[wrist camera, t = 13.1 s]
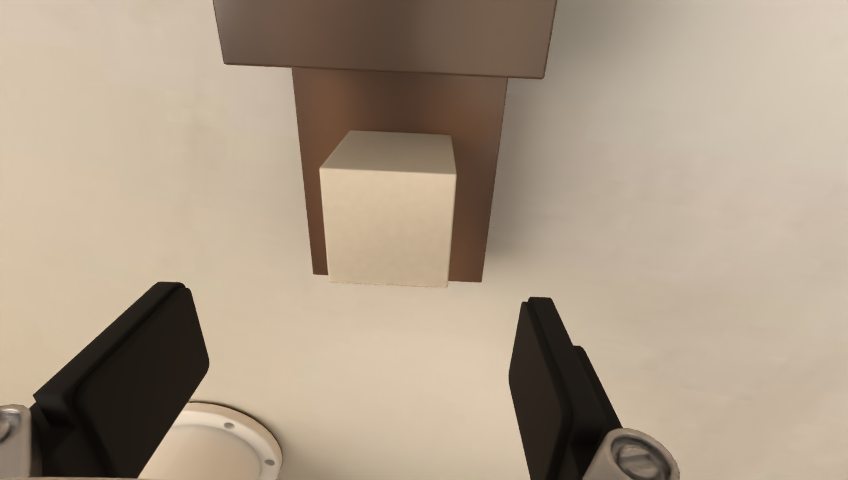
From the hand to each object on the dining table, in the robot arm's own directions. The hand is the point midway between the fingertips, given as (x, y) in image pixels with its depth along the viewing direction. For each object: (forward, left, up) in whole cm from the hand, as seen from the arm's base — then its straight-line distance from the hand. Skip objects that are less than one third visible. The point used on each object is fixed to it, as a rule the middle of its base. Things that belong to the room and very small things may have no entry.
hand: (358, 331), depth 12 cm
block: (0, +1, -11) cm, 11 cm away
